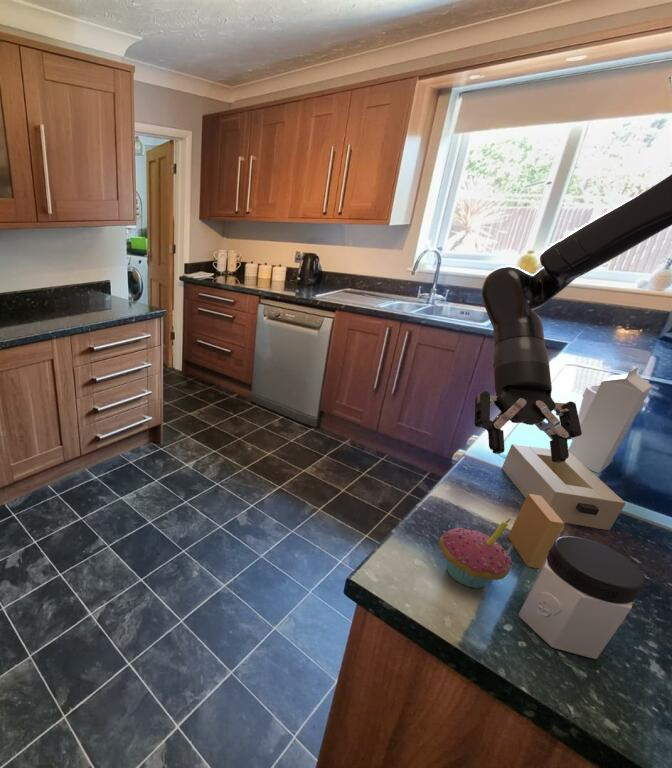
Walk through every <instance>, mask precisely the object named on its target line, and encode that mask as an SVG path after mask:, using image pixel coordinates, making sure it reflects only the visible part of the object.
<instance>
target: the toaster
mask: <svg viewBox="0 0 672 768" xmlns="http://www.w3.org/2000/svg"><path fill="white" fill-rule="evenodd" d="M501 470H503V472H504V473H505V474H506V476H507V477H508V478H509V480H511V482H512V483H513V484H514V486H515V487H516V489H518V491H519V492H520V493H521V495H522V496H523V497H524V498H525V499H526V497H527V495H528V494H533V495H540V496H542V497H543V499H544V500H545V501H546V502H547V503H548V504H549V506H550V507H551V508H552V509H553V510H554V512H555V513H556V514H557V515H558V516H559V517H560V519H561V520H562V521H563V522H564V523H565V524H570V525H575V526H582V527H587V528H593V529H599V530H605V531H610V530H611V529H612V527H613V526H614V524H615V522H616V520H617V519H618V517H619V515H620V514H621V512H622V511H623V509H624V507H625V506H626V502H625V501H624V500H623V499H622V498H621V497H620V496H619V495H617V493H615V491H613V489H611V488H610V487H609V486H608V485H607V484H605V483H604V481H602V480H601V479H600V478H599V477H598V476H597V475H596V474H595V473H593V471H592V470H589V469H588V468H587V467H586V466H584V465H583V464H582V463H581V462H580V461H579V460H578V459H577V458H576V457H575V456H573V455H572V454H571V453H570V452H569V456H568V458H567V459H566V460H565V461H564V462H560V463H555V462H552V458H551V448H544V447H537V446H531V445H521V444H515V443H512V444H511V445H510V447H509V450H508V452H507V455H506V457H505V459H504V462H503V464H502V466H501Z"/></svg>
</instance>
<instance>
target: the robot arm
mask: <svg viewBox="0 0 672 768" xmlns="http://www.w3.org/2000/svg"><path fill="white" fill-rule="evenodd" d="M671 226H672V173H671V174H670V175H668V176H667V177H665V178H663V179H662V180H661V181H659V182H658V183H656V184H655V185H653V186H651V187H650V188H648V189H647V190H645V191H643V192H641V193H640V194H638V195H636V196H635V197H633V198H631V199H629V200H627V201H626V202H624V203H622V204H620V205H618V206H616V207H615V208H613V209H611V210H609V211H607V212H605V213H603V214H602V215H600V216H598V217H596V218H594V219H593V220H591V221H589V222H588V223H585V224H584V225H582V226H581V227H579V228H578V229H576V230H574V231H572V232H571V233H569V234H568V235H566V236H564V237H563V238H561V239H559V240H558V241H556V242H554V243H553V244H551V245H550V246H548V247H547V248H545V249H544V250H543V251H542V253H541V254H540V255H539V262H540V265H541V267H542V268H540V269H539V270H538V271H537V272H535V273H534V274H532V273H529V272H528V271H525V270H523V269H521V268H520V267H516V266H512V265H505V266H501V267H498V268H496V269H494V270H492V271H491V272H490V273H489V274H488V275H487V276H486V278H485V280H484V281H483V283H482V288H481V299H482V303H483V306H484V308H485V311H486V314H487V316H488V319H489V321H490V324H491V326H492V331H493V333H492V334H493V347H494V348H493V358H492V359H493V362H492V368H493V375H494V391H495V393H496V394H490V392H489V391H486V390H485V391H483V392H481V393H479V394H478V395H476V396H475V398H474V427H476V428H482V429H484V430H486V431H487V438H488V447H489V448H488V449H489V450H491V451H492V453H493V454H495V455H500V454H503V453H504V452H505V450H506V449H505V436H504V430H503V429H502V428H503V427H504V426H505V425H506V424H507V423H508V422H509V421H510V423H513V424H520V423H521V424H524V425H530V426H534V425H535V426H536V427H537V428H538V429H539V430H540V431H542V432H544V433H545V434H546V435H547V436H548V437H549V438H550V440H549V445H550V446H549V449H551V458H552V462H555V463H560V462H564V461H565V460H566V459H567V458H568V456H569V452H568V449H569V445H568V440H573V439H572V438H574V437H577V436H580V435H581V434H582V432H581V427H580V422H579V417H578V414H579V411H578V409H577V404H576V403H575V402H574V401H567V402H555V400H554V399H553V398H552V390H553V386H552V385H553V384H552V377H551V369H550V368H551V367H550V359H549V354H548V349H547V347H546V342H545V333H544V325H543V320H542V319H541V317H540V316H539V315H538V313H536V312H535V311H534V310H536V309H540V308H541V307H542V306H544V305H545V304H547V303H549V301H551V300H552V299H554V297H555V296H557V295H558V294H560V292H562V291H563V290H564V289H566V287H568V286H569V285H570V284H571V283H572V282H574V280H576V279H577V278H579V277H581V276H583V275H585V274H587V273H589V272H591V271H592V270H595V269H596V268H599V267H601V266H602V265H604V264H606V263H608V262H610V261H611V260H613V259H615V258H617V257H619V256H621V255H622V254H624V253H626V252H627V251H629V250H631V249H632V248H635V247H636V246H638V245H639V244H640V245H641V244H642V243H643V242H645V241H646V240H648V239H650V238H652V237H654V236H655V235H657V234H659V233H661V232H662V231H664V230H666V229H668V228H669V227H671ZM493 404H494V405H495V407H496V408H497V409H498V410H499V411H500V412H499V413H498V415H496V416H495V417H494V418H493V420H491V406H492V405H493ZM553 411H554V412H555V414H554V413H553ZM557 416H558V417H557ZM545 420H546V421H547V422H546V421H545Z"/></svg>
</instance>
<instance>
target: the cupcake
mask: <svg viewBox="0 0 672 768" xmlns="http://www.w3.org/2000/svg"><path fill="white" fill-rule="evenodd" d="M511 520H512V519H511V518H508V519H507V520H503V521H502V522H501V523H500V525H499V526H498V527H497V529H496V530H495V531H494V532H493V533H492V534H491V536H490V535H488V534H487V533H484V532H481V531H478V530H475V529H470V528H467V527H453V528H451V529H449V530H446V531H445V532H443V534H442V535H441V536H440V538H439V541H438V543H439V548H440V550H441V552H442V555H443V557H444V558H445V561H446V571H447V573H448V574H449V576H450V577H451V578H452V579H454V581H456V582H458V583H459V584H461V585H463V586H466V587H469V588H472V589H478V588H482V587H483V586H485V585H486V584H488V583H489V582H490V581H491V580H492V581H493V580H495V581H496V580H497V581H499V580H503V579H505V578H506V577H507V575H509V573H510V570H511V568H512V566H513V564H512V562H513V559H512V556H510V554H508V551H507V550H506V549H505V547H504V546H502V544H500V543H499V542H498V541H497V540H498V538H499V537H500V536H501V535H502V533H503V532H504V531H505V530H506V528H507V527H508V526H509V522H510V521H511Z"/></svg>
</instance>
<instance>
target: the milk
mask: <svg viewBox="0 0 672 768" xmlns="http://www.w3.org/2000/svg"><path fill="white" fill-rule="evenodd" d="M639 368H640V366H639V365H638V366H636V367H634V368H633V369H630V371H629V372H628V373H623V374H622V373H621V374H615V375H611V376H609V377H607V378H605V379H604V380H603V379H602V380H601V382H600V384H599V385H600V386H599V388H598V390H597V392H596V394H595V396H594V398H593V400H592V402H591V404H590V406H589V408H588V410H587V412H586V415H585V417H584V419H583V421H582V423H581V425H580V427H581V432H582V434H581V435H580V436H577V437H574V439H572V441H571V443H570V445H569V446H568V452H570V453H571V454H572V455H573V456H575V457H576V458H577V459H578V460H579V461H580V462H581V463H582V464H583V465H584V466H586V467H587V468H588V469H589V470H590V471H591V472H595V473H597V474H601V472H602V471H604V470H605V469H606V468H607V467H608V466H609V465H610V464H611V462H612V461H613V458H614V457H615V455H616V453H617V451H618V450H619V447H620V446H621V444H622V442H623V440H624V439H625V437H626V436H627V433H628V431H629V430H630V428H631V426H632V424H633V423H634V420H635V419H636V418H637V416H638V413H639V412H640V411H641V410H640V408H641V406H642V404H643V402H644V400H645V399H646V400H647V397H648V395H649V393H650V392H651V389H652V388H653V385H652V384H651V383H650V382H648V381H647V380H645V378H643V377H641V375H639V374H638V373H637V372H638V370H639ZM639 410H640V411H639ZM638 411H639V412H638Z"/></svg>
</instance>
